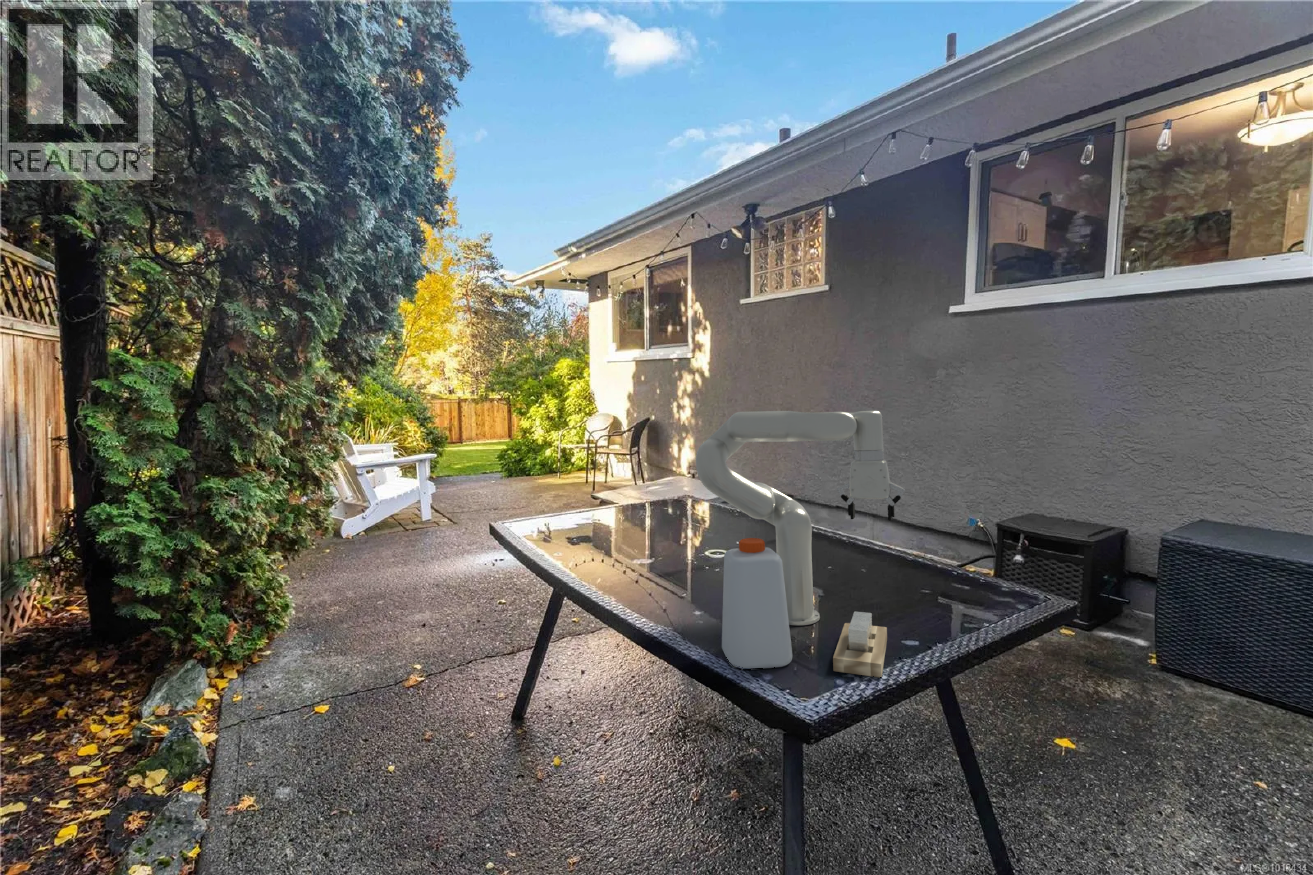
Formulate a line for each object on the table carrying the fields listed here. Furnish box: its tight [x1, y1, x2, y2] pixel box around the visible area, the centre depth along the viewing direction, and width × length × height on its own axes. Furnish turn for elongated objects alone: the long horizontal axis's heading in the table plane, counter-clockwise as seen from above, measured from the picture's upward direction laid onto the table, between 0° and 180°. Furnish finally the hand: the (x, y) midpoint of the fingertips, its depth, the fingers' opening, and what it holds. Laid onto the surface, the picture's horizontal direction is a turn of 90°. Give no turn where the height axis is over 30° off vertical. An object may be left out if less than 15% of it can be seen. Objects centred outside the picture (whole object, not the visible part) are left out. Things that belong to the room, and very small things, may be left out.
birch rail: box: [832, 622, 888, 678], centre depth 136 cm, size 10×22×3 cm, turn 155°
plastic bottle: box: [721, 537, 793, 669], centre depth 137 cm, size 15×15×28 cm
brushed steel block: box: [848, 611, 873, 653], centre depth 136 cm, size 4×12×8 cm, turn 155°
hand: (871, 519), depth 157 cm, fingers open, 9 cm apart
